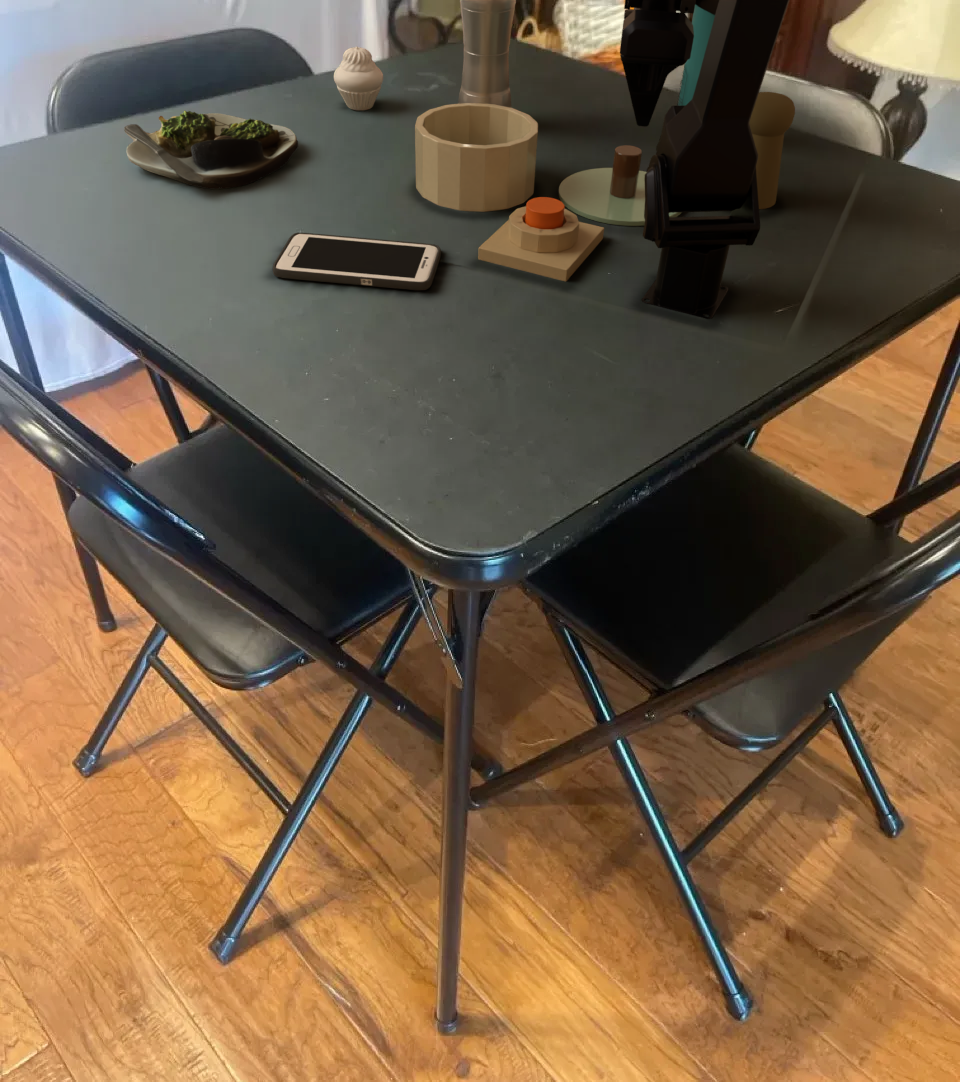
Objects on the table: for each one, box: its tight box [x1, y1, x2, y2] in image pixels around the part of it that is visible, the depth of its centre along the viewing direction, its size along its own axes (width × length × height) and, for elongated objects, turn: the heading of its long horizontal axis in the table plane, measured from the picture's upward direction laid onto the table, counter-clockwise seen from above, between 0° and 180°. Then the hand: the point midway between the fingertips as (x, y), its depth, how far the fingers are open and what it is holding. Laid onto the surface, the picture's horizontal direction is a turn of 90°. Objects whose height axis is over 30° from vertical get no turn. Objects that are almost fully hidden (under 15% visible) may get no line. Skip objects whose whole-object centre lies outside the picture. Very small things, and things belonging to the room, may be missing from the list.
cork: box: [749, 91, 796, 210], centre depth 96 cm, size 6×6×11 cm
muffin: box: [333, 45, 384, 111], centre depth 115 cm, size 6×6×7 cm
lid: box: [558, 144, 683, 227], centre depth 97 cm, size 14×14×6 cm
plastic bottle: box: [457, 0, 517, 108], centre depth 106 cm, size 6×7×20 cm
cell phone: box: [272, 232, 442, 291], centre depth 86 cm, size 8×15×1 cm, turn 83°
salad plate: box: [123, 110, 299, 190], centre depth 102 cm, size 19×18×5 cm
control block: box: [477, 205, 605, 282], centre depth 88 cm, size 10×9×4 cm
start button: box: [525, 196, 566, 229], centre depth 87 cm, size 4×4×2 cm
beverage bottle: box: [676, 4, 715, 106], centre depth 106 cm, size 6×7×20 cm
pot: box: [414, 103, 539, 213], centre depth 97 cm, size 13×13×7 cm
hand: (643, 109), depth 92 cm, fingers open, 9 cm apart
